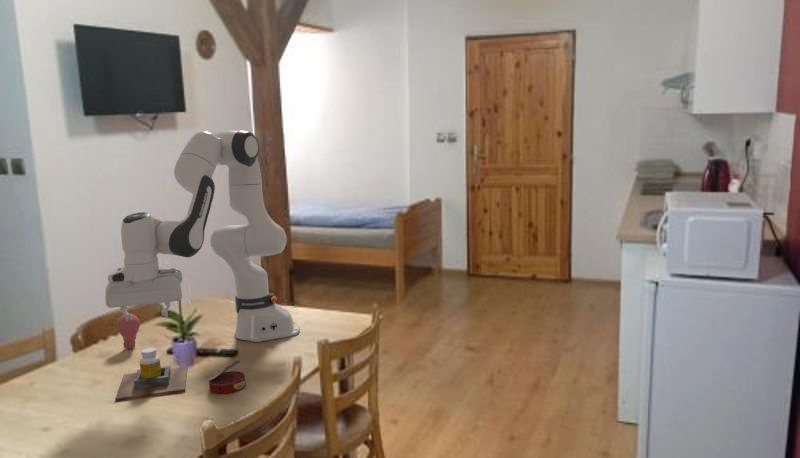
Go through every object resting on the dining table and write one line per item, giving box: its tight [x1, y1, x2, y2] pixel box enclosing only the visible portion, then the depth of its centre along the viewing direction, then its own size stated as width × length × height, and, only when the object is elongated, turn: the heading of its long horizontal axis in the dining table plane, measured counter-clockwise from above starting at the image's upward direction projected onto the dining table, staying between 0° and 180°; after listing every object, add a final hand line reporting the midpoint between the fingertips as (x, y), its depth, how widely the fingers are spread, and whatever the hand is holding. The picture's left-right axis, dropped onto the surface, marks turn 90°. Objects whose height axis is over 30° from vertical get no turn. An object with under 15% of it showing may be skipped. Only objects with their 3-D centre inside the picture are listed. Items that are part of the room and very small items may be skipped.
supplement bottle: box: [139, 347, 162, 379], centre depth 186 cm, size 5×5×10 cm
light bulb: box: [116, 313, 141, 350], centre depth 217 cm, size 7×7×12 cm
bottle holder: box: [115, 365, 188, 402], centre depth 188 cm, size 18×18×3 cm
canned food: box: [208, 360, 246, 396], centre depth 183 cm, size 11×10×10 cm
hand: (147, 318), depth 185 cm, fingers open, 8 cm apart
